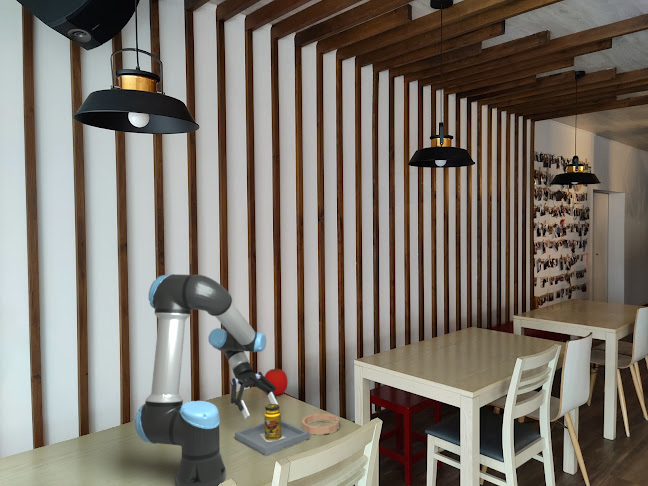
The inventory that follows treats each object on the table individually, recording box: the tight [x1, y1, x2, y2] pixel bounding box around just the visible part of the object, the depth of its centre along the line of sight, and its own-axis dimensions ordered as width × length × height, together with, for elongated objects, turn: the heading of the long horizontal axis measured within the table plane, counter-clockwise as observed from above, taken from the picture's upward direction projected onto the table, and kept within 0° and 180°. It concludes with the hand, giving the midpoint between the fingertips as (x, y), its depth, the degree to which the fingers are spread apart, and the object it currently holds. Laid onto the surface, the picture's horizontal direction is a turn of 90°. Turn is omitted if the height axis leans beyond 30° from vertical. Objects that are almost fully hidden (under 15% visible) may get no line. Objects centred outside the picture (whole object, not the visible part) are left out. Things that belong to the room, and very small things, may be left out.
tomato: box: [263, 368, 288, 396], centre depth 233 cm, size 12×12×13 cm
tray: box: [234, 419, 310, 457], centre depth 181 cm, size 20×20×2 cm
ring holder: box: [301, 413, 340, 434], centre depth 191 cm, size 14×14×3 cm
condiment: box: [259, 403, 285, 442], centre depth 181 cm, size 7×8×12 cm
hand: (262, 412), depth 186 cm, fingers open, 13 cm apart
